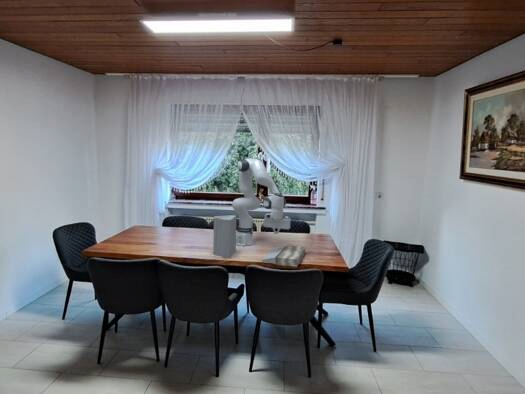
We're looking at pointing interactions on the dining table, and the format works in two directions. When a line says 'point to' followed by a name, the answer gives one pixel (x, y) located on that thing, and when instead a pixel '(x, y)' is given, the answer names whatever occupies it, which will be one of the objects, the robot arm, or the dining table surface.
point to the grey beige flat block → (291, 256)
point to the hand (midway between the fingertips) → (276, 233)
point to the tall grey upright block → (224, 236)
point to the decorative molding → (273, 255)
